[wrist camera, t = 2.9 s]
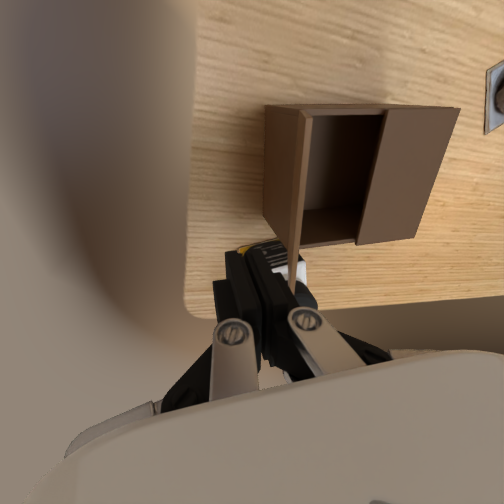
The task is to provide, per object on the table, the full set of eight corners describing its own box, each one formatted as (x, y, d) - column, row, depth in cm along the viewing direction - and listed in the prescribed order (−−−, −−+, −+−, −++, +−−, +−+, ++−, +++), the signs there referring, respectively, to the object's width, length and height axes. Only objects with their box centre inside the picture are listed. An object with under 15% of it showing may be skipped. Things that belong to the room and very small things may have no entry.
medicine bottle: (286, 235, 38) (325, 286, 28) (289, 274, 42) (325, 331, 32) (238, 247, 37) (260, 304, 27) (245, 286, 41) (268, 348, 31)
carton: (262, 215, 35) (290, 255, 27) (265, 104, 29) (302, 109, 20) (361, 206, 38) (414, 238, 30) (384, 103, 32) (462, 107, 23)
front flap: (291, 254, 27) (287, 253, 27) (304, 110, 20) (299, 110, 20) (293, 303, 20) (288, 302, 21) (313, 117, 14) (305, 117, 14)
